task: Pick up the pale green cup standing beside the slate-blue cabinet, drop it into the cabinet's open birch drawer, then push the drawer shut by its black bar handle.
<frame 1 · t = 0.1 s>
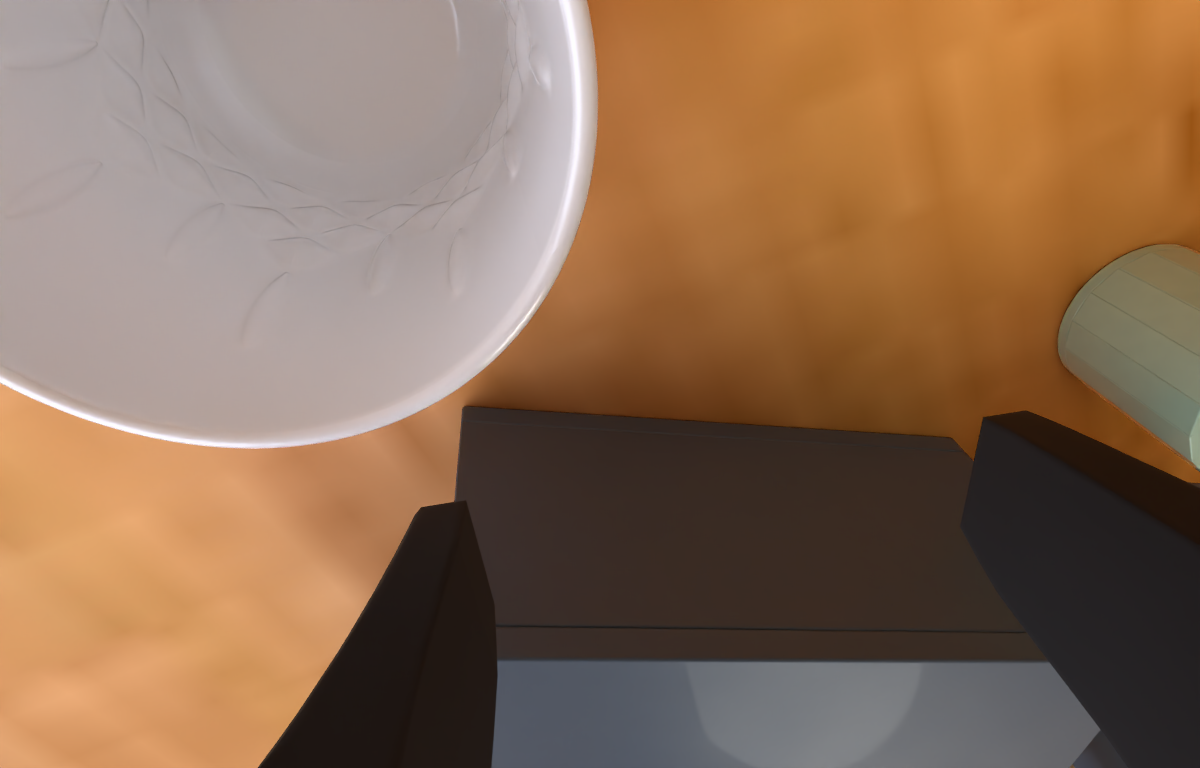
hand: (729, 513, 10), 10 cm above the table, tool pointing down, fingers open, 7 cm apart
white cup: (362, 19, 15), on the table
drawer: (1058, 677, 23), point 4 cm above the table, slide at 8.0 cm
cabinet: (680, 571, 25), on the table
pale green cup: (1132, 316, 22), on the table
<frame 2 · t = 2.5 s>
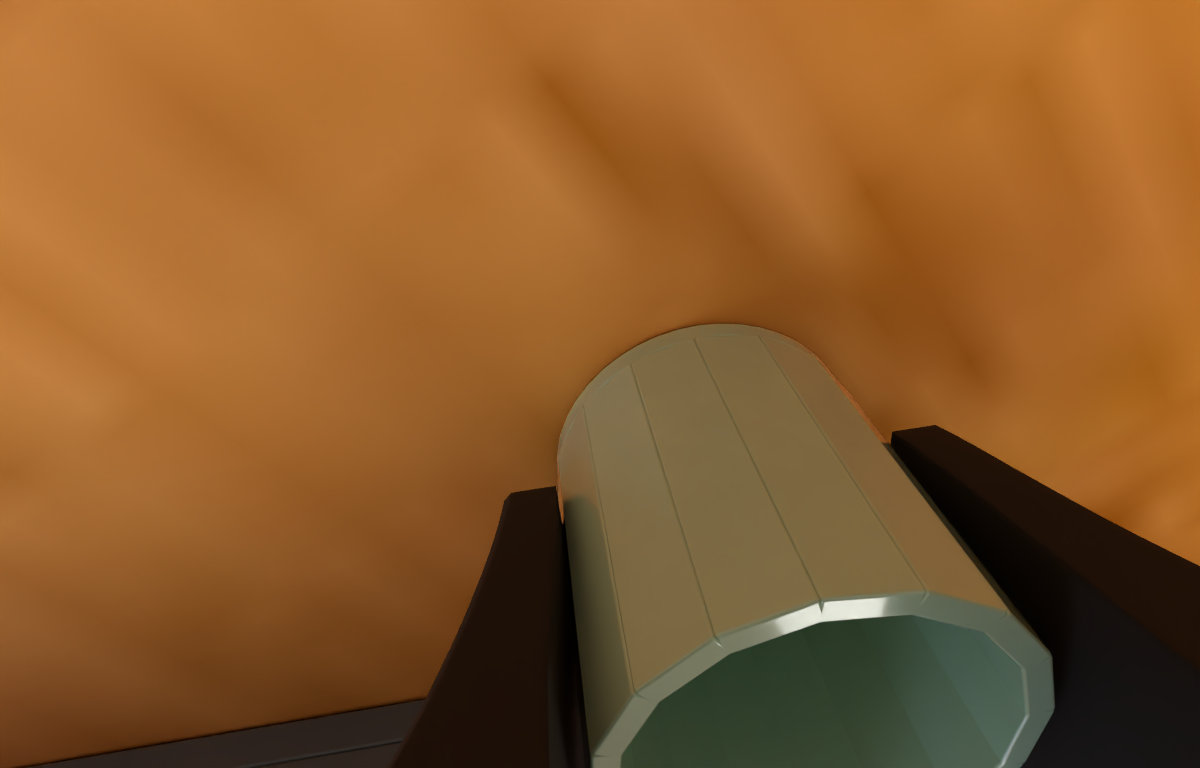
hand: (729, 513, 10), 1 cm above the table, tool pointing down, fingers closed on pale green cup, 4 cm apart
pale green cup: (702, 453, 11), on the table, touching gripper
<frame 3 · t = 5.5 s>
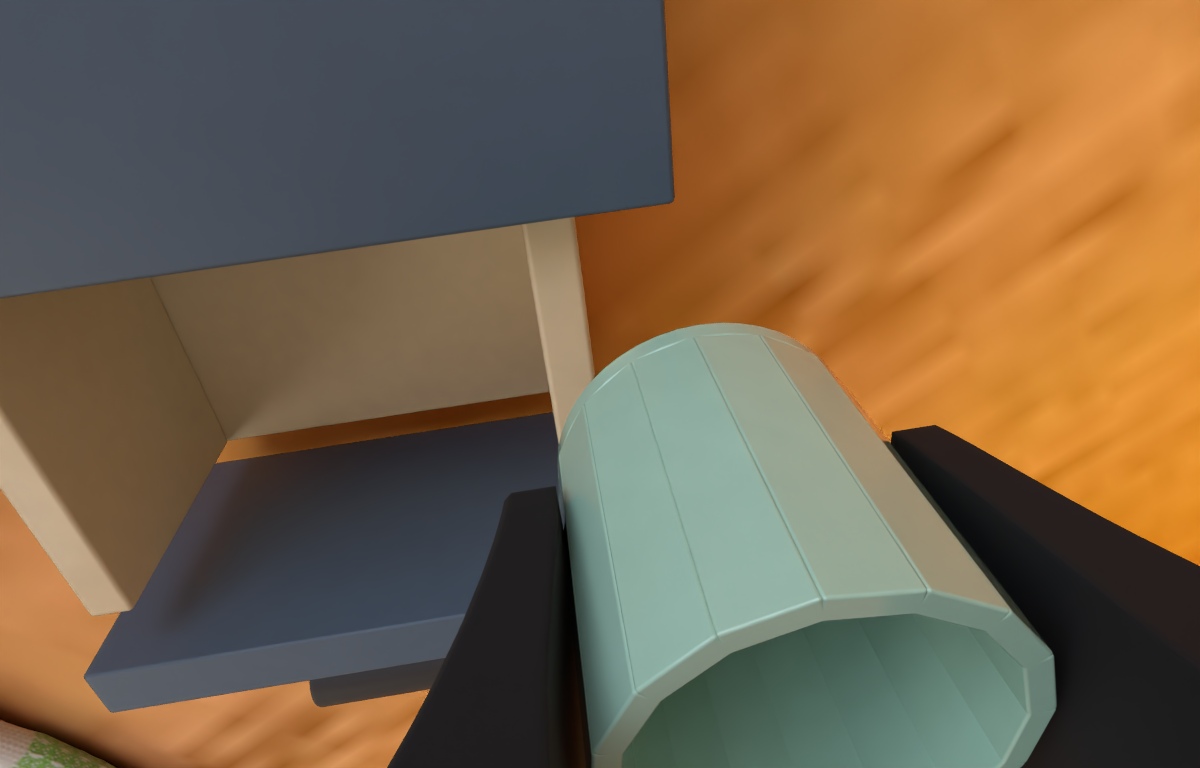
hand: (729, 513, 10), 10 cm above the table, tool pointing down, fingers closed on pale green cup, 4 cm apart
drawer: (348, 375, 15), point 4 cm above the table, slide at 8.0 cm
pale green cup: (703, 453, 11), point 9 cm above the table, touching gripper
when the fingers open (4 cm above the table, at t = 8.6 s): pale green cup stays where it is, resting on drawer.
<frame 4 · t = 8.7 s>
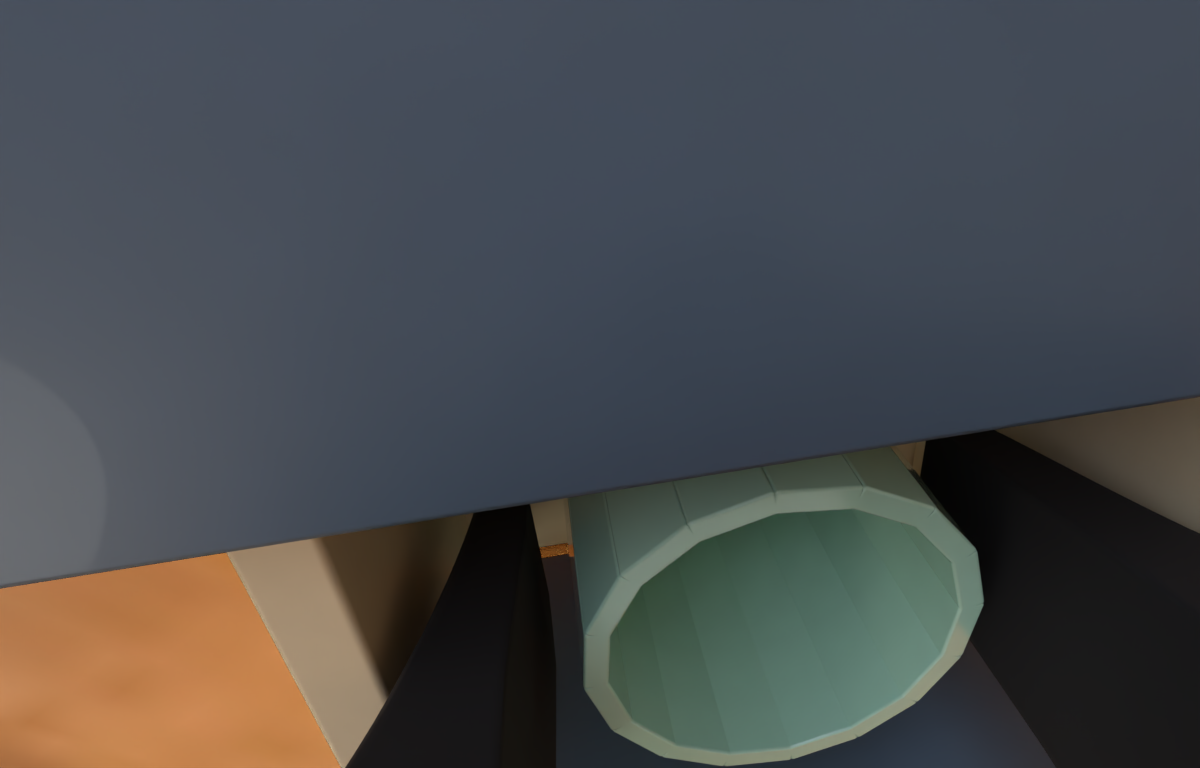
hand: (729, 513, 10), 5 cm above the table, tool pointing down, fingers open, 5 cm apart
drawer: (723, 498, 11), point 4 cm above the table, slide at 8.0 cm, touching gripper, pale green cup
pale green cup: (688, 407, 12), point 2 cm above the table, touching drawer
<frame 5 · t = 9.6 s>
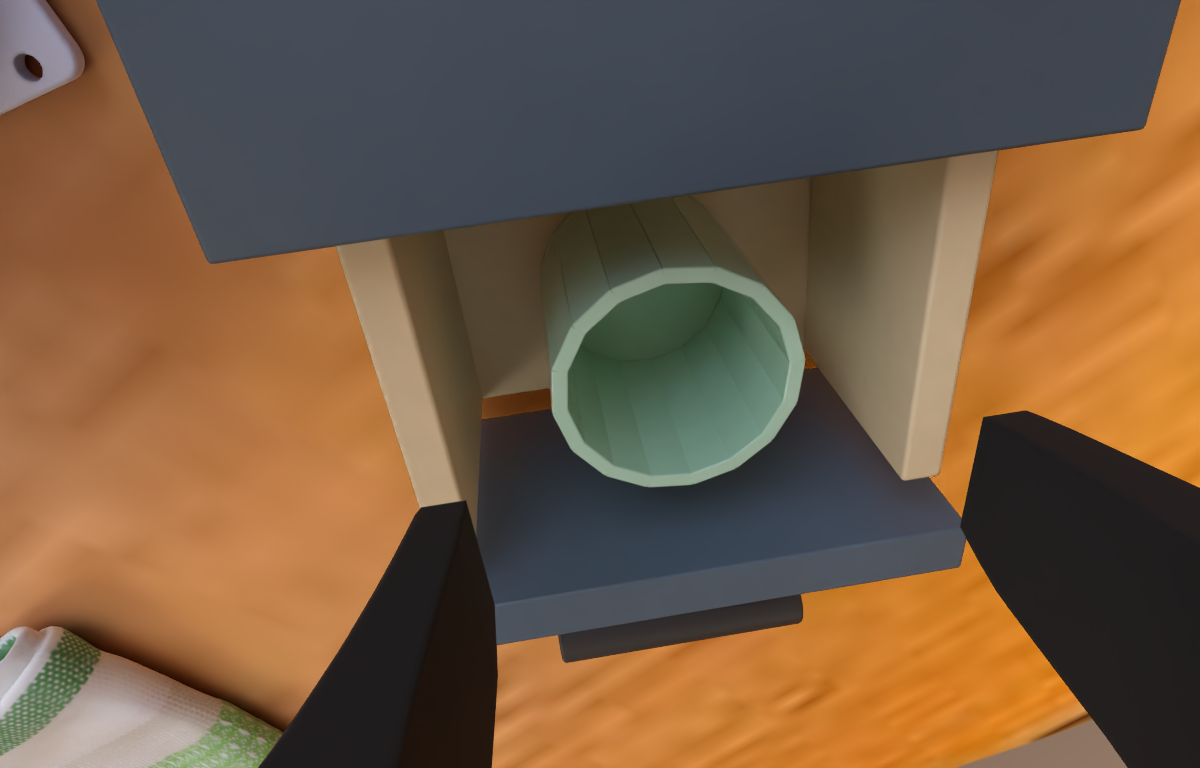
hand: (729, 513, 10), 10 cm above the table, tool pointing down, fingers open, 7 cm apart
drawer: (653, 325, 15), point 4 cm above the table, slide at 8.0 cm, touching pale green cup
pale green cup: (635, 278, 17), point 2 cm above the table, touching drawer
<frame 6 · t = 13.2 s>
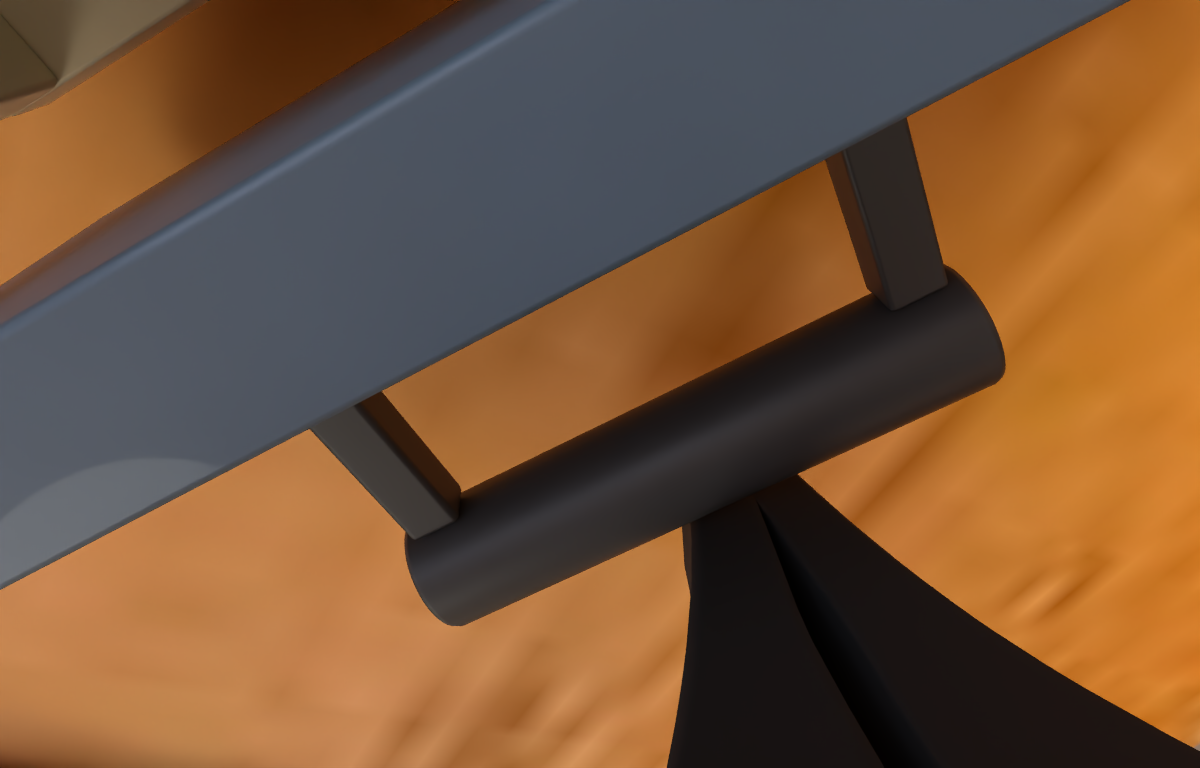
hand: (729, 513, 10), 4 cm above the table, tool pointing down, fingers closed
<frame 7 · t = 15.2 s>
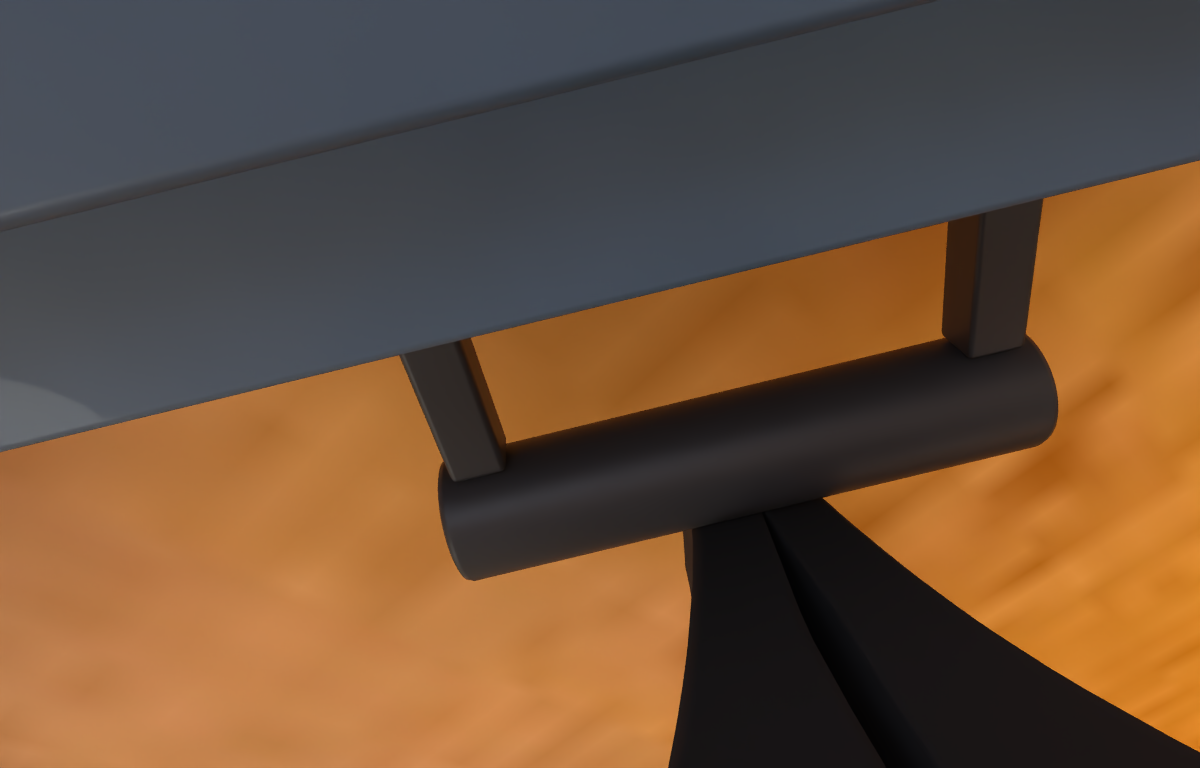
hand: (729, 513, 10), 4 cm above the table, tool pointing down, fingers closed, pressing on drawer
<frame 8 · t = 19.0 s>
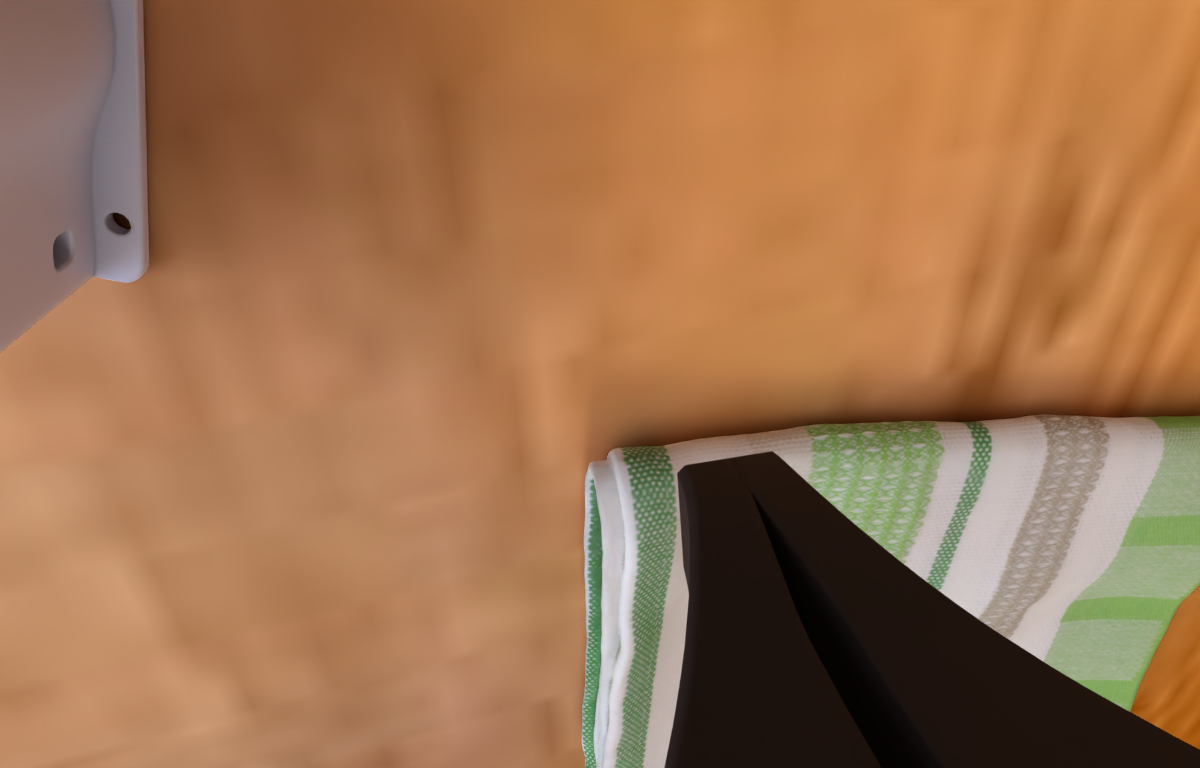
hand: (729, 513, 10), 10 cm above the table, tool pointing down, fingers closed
dish towel: (877, 590, 28), on the table
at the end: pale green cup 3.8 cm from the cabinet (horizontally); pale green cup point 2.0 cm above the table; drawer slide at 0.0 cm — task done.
